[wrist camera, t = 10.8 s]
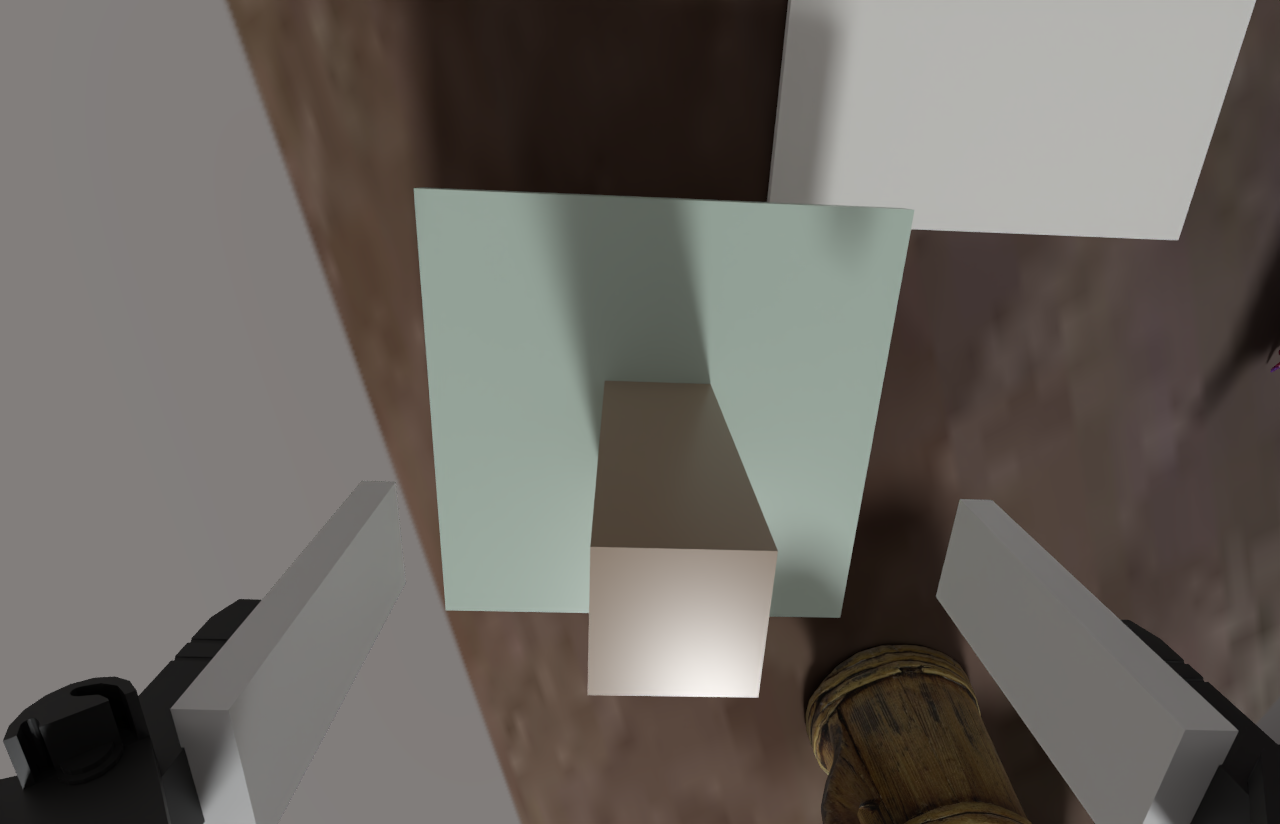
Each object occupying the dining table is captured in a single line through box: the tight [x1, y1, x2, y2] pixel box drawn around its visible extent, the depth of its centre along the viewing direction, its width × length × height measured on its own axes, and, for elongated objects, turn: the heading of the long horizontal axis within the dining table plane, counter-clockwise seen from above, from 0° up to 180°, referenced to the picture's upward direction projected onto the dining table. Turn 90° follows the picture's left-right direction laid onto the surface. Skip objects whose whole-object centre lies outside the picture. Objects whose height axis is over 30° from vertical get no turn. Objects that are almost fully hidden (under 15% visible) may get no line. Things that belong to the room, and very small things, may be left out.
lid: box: [414, 187, 914, 697], centre depth 18 cm, size 15×15×11 cm
